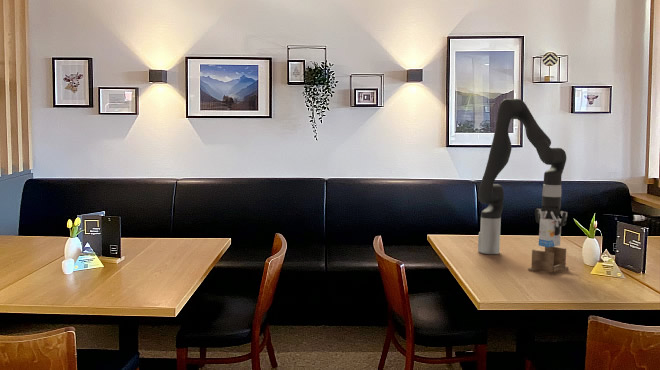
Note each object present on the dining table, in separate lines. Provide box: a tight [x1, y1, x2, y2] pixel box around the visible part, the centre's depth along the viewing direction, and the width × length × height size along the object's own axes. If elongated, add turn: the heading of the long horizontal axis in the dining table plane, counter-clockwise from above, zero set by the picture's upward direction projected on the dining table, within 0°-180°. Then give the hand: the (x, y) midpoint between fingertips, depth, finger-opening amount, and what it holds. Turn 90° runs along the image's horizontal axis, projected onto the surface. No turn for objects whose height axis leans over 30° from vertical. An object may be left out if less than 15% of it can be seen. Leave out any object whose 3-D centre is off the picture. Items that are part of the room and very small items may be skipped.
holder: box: [527, 246, 569, 276], centre depth 257 cm, size 11×15×9 cm
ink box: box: [538, 211, 562, 248], centre depth 255 cm, size 8×5×15 cm, turn 124°
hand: (549, 234), depth 255 cm, fingers closed on ink box, 5 cm apart
